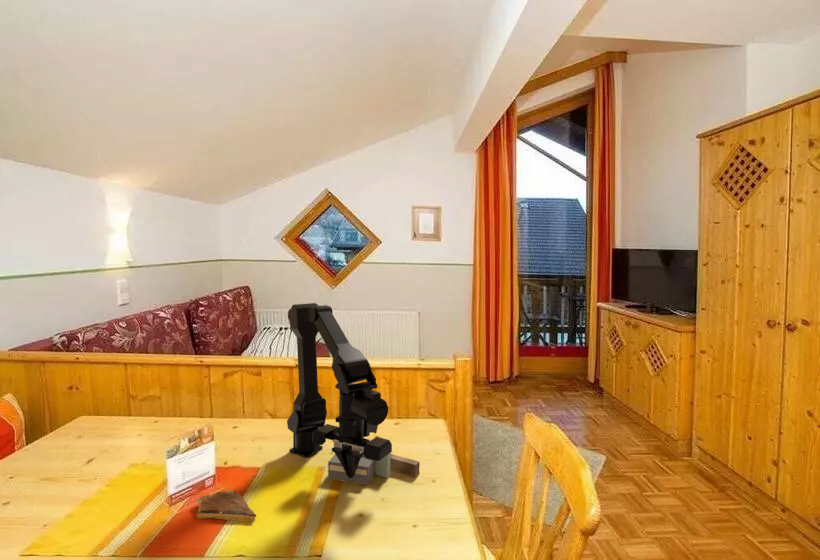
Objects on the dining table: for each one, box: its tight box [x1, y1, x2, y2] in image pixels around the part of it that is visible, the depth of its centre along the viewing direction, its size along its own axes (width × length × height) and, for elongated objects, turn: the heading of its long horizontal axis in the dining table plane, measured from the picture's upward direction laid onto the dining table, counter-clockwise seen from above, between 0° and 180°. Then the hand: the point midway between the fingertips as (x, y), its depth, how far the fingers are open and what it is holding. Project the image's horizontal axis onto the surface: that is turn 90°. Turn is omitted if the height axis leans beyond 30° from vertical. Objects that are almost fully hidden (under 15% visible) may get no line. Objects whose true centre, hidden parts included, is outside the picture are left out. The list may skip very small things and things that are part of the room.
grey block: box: [327, 453, 376, 486], centre depth 112 cm, size 10×5×4 cm, turn 76°
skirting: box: [390, 453, 420, 478], centre depth 118 cm, size 18×2×3 cm, turn 61°
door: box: [362, 452, 392, 479], centre depth 116 cm, size 11×2×6 cm, turn 58°
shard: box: [195, 489, 257, 522], centre depth 96 cm, size 13×9×2 cm
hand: (350, 477), depth 108 cm, fingers closed
